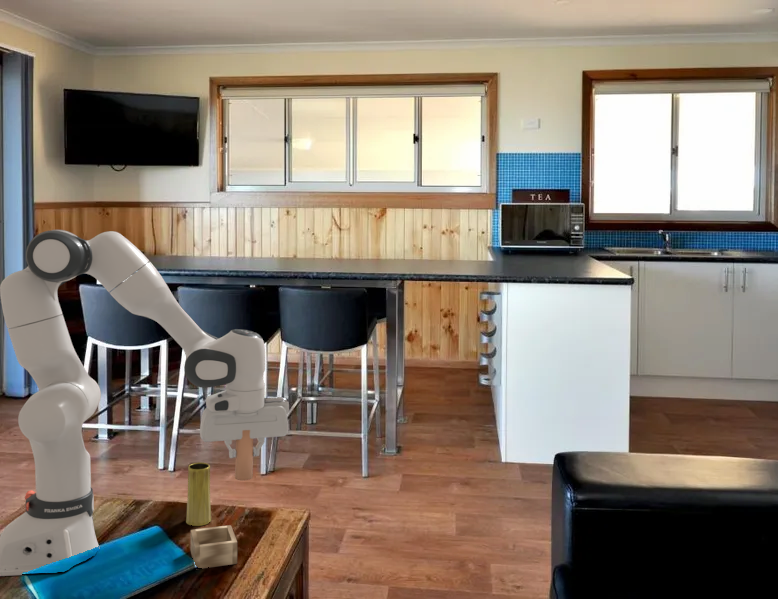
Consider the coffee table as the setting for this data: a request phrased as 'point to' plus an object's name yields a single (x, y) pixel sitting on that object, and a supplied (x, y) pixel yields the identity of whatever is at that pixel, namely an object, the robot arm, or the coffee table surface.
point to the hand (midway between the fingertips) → (244, 456)
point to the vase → (198, 494)
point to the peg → (244, 457)
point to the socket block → (213, 546)
